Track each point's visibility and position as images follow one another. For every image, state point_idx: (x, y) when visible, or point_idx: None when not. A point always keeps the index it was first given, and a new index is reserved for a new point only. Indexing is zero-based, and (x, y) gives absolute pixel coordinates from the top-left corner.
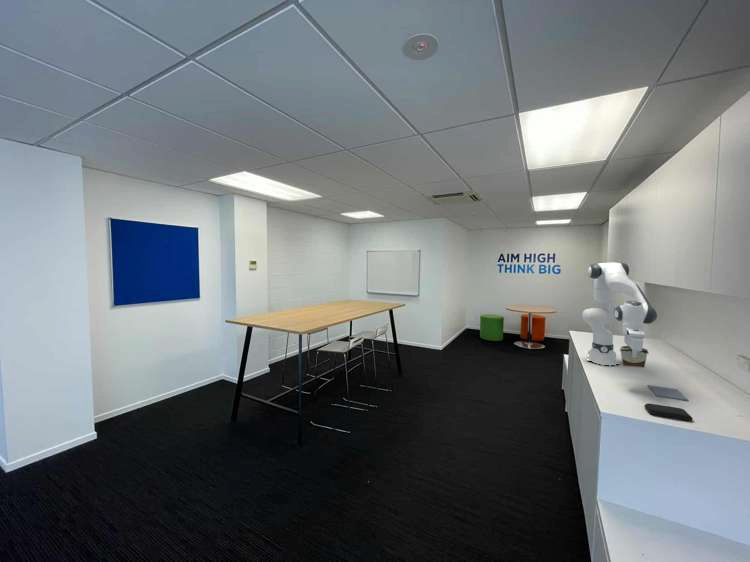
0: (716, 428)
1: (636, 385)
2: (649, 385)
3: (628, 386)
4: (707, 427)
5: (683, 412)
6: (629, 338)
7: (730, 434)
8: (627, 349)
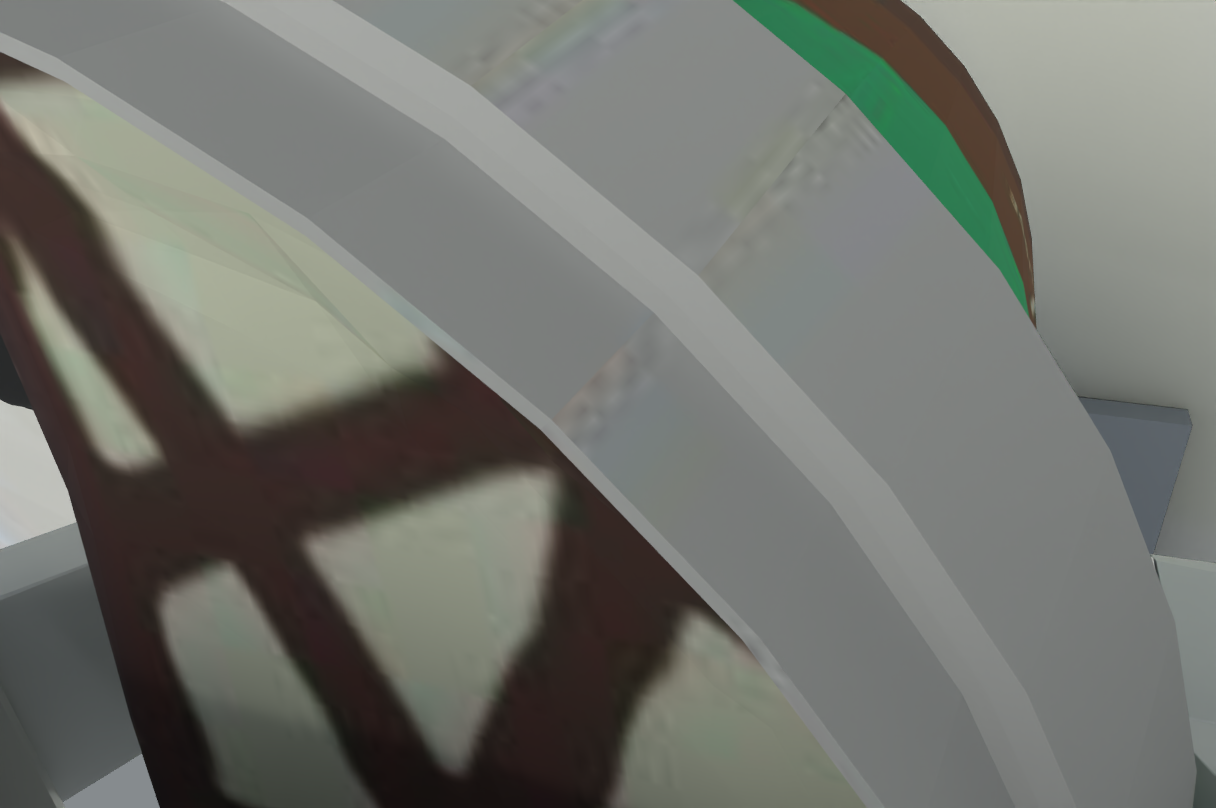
0: (49, 497)
1: (1190, 221)
2: (1167, 444)
3: (1049, 28)
4: (15, 443)
5: (17, 376)
6: None
7: (8, 529)
8: (192, 517)
